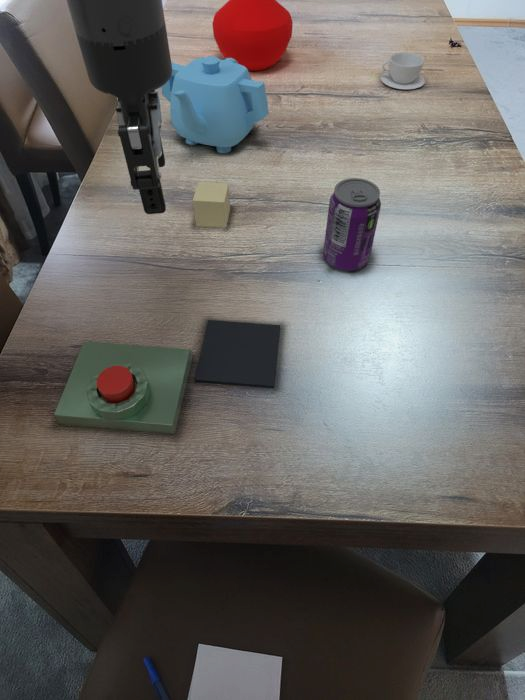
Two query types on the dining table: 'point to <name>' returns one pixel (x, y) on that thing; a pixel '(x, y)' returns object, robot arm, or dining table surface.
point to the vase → (253, 32)
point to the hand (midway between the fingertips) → (156, 187)
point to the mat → (239, 354)
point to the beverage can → (351, 223)
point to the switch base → (147, 398)
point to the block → (211, 204)
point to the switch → (115, 383)
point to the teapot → (214, 101)
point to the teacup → (403, 71)
